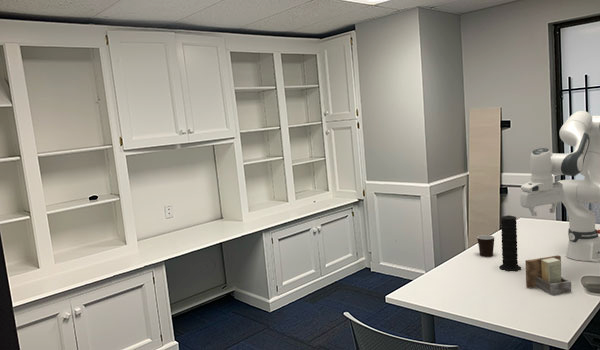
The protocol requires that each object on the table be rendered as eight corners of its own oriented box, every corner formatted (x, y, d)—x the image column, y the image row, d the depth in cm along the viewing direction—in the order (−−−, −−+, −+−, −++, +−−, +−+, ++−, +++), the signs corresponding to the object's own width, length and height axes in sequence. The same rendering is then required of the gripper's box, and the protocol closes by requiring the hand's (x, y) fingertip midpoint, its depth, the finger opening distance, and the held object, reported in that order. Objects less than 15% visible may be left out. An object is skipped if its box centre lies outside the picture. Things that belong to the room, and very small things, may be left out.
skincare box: (554, 284, 199) (553, 257, 197) (561, 287, 195) (561, 260, 193) (541, 286, 198) (540, 259, 196) (548, 290, 193) (547, 262, 192)
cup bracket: (558, 281, 203) (558, 255, 202) (578, 290, 192) (578, 263, 191) (526, 286, 201) (525, 260, 199) (544, 296, 190) (543, 268, 188)
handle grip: (501, 271, 221) (524, 271, 219) (499, 218, 217) (522, 217, 215) (497, 264, 231) (518, 264, 228) (495, 213, 227) (516, 212, 225)
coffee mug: (492, 258, 240) (492, 240, 239) (475, 256, 246) (475, 238, 244) (498, 252, 249) (497, 234, 248) (482, 250, 255) (481, 233, 253)
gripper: (557, 180, 213) (558, 209, 215) (517, 186, 209) (519, 216, 211) (567, 182, 206) (568, 211, 209) (526, 189, 203) (528, 219, 205)
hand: (543, 214), depth 210 cm, fingers open, 8 cm apart
